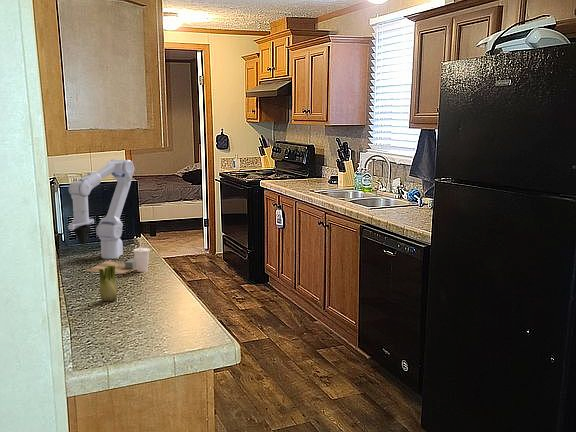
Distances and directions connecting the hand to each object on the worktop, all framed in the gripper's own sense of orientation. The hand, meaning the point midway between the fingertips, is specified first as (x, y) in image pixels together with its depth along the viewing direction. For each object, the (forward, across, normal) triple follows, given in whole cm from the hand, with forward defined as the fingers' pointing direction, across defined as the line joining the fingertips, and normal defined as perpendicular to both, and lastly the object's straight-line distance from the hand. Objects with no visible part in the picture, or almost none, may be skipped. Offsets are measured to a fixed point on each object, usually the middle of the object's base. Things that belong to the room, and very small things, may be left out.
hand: (82, 243), depth 219 cm
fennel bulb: (+10, +34, +32) cm, 48 cm away
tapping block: (+9, -3, +20) cm, 22 cm away
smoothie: (+10, +1, +27) cm, 29 cm away
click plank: (+10, 0, +10) cm, 14 cm away
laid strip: (+10, 0, +18) cm, 21 cm away
